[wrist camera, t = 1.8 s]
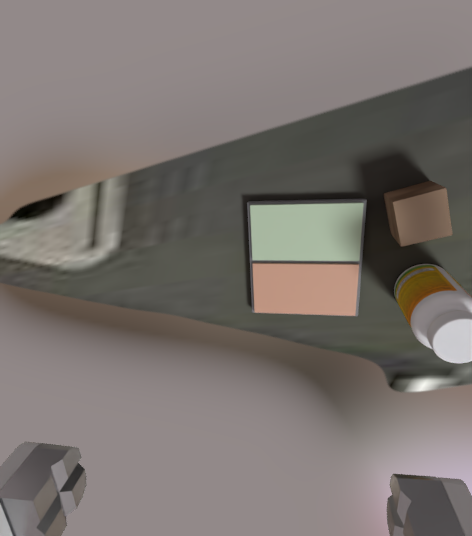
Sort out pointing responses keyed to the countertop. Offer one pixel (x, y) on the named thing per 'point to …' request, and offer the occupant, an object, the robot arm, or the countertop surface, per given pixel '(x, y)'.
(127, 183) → the countertop surface
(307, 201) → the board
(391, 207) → the walnut block
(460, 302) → the supplement bottle
